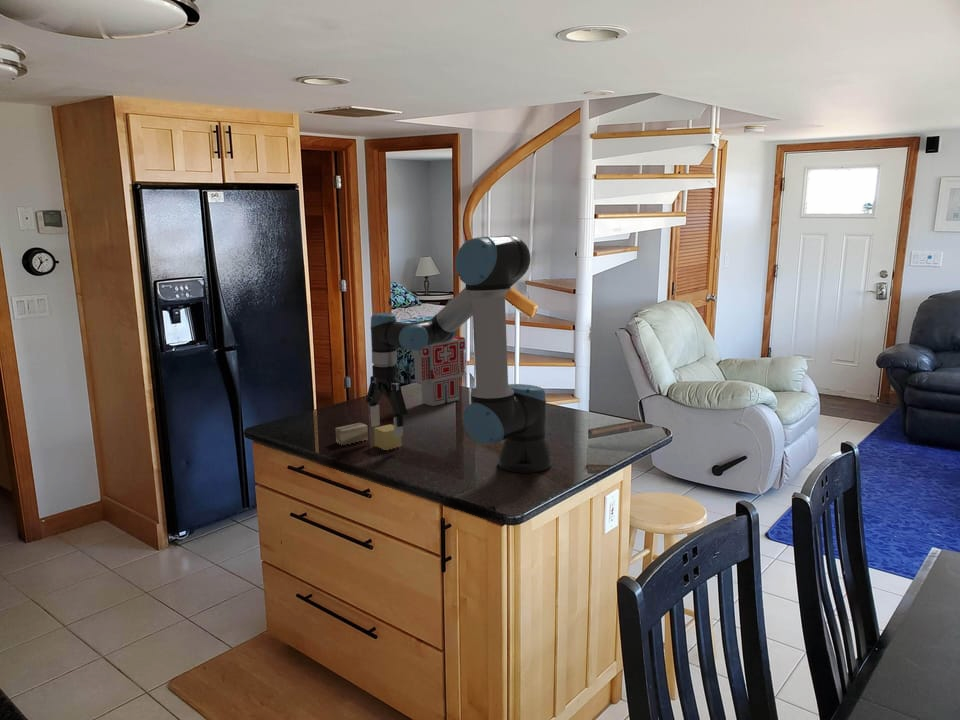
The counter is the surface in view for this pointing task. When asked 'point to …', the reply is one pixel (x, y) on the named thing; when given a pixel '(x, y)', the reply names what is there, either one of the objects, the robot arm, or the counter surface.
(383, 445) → the ochre cube
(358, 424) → the birch plinth
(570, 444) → the counter surface
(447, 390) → the toy
